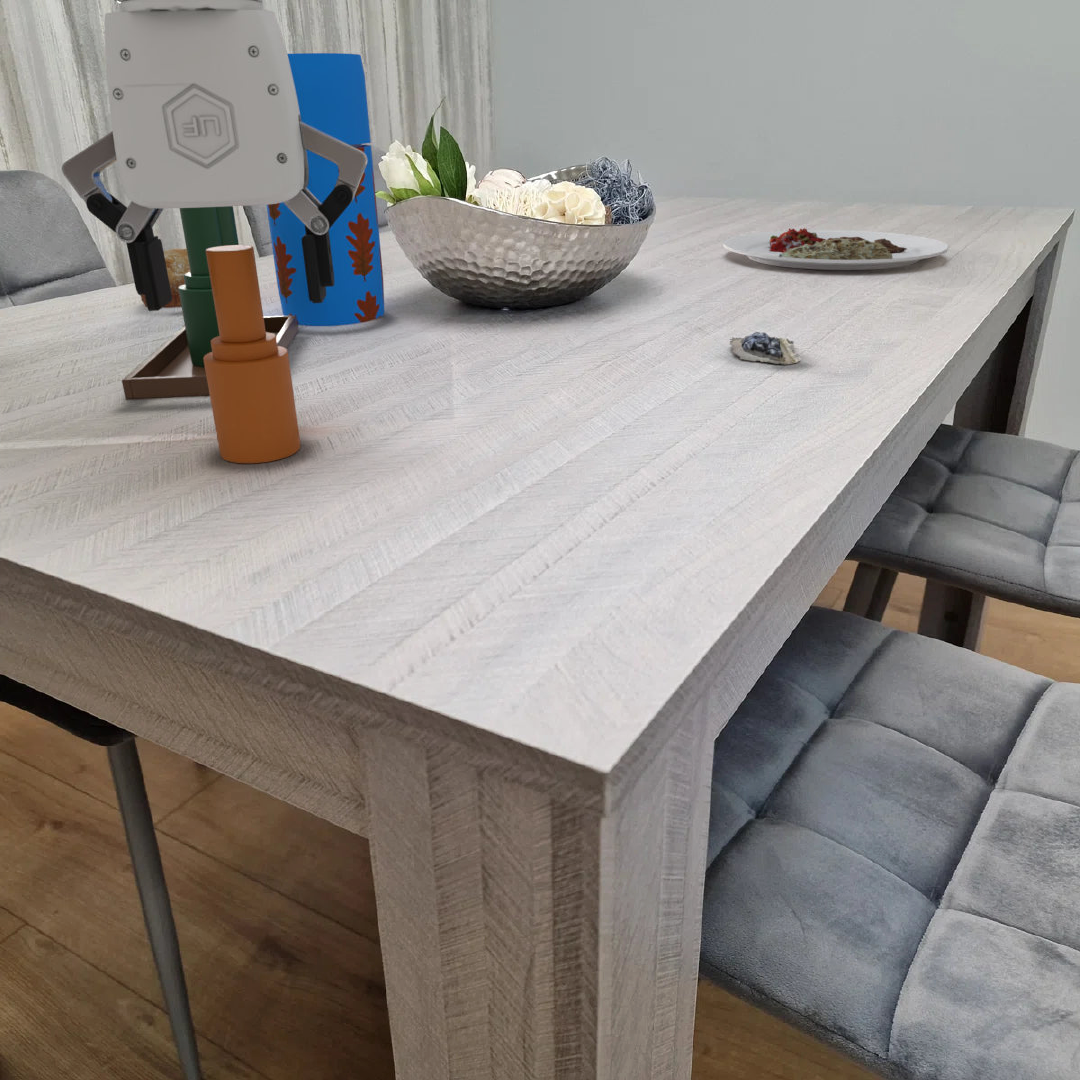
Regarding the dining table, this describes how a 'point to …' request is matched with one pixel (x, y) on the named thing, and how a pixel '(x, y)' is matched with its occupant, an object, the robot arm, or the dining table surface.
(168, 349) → the tray
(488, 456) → the dining table surface
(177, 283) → the bread roll
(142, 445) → the dining table surface
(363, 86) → the thermos
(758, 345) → the blueberry tart
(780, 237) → the plated food
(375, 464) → the dining table surface
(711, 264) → the dining table surface
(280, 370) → the amber bottle
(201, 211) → the green bottle
